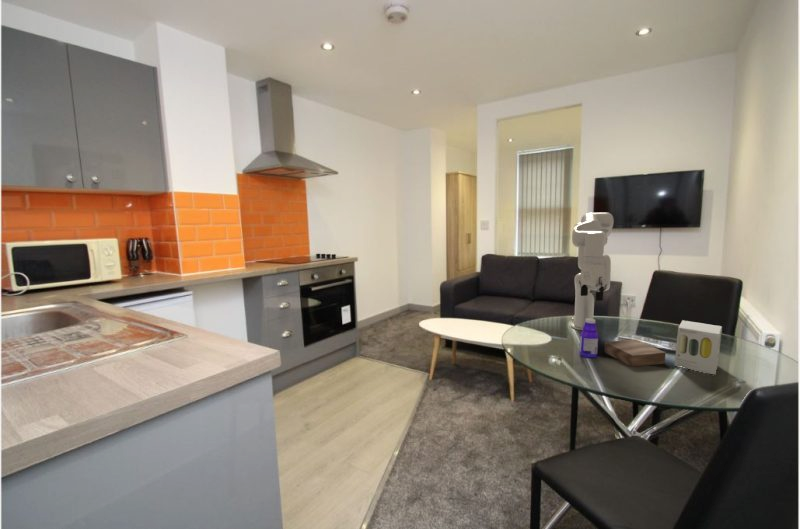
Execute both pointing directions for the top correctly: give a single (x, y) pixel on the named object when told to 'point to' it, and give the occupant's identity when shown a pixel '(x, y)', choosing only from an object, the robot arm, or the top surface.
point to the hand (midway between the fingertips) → (591, 298)
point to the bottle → (589, 339)
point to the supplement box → (698, 346)
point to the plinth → (635, 353)
